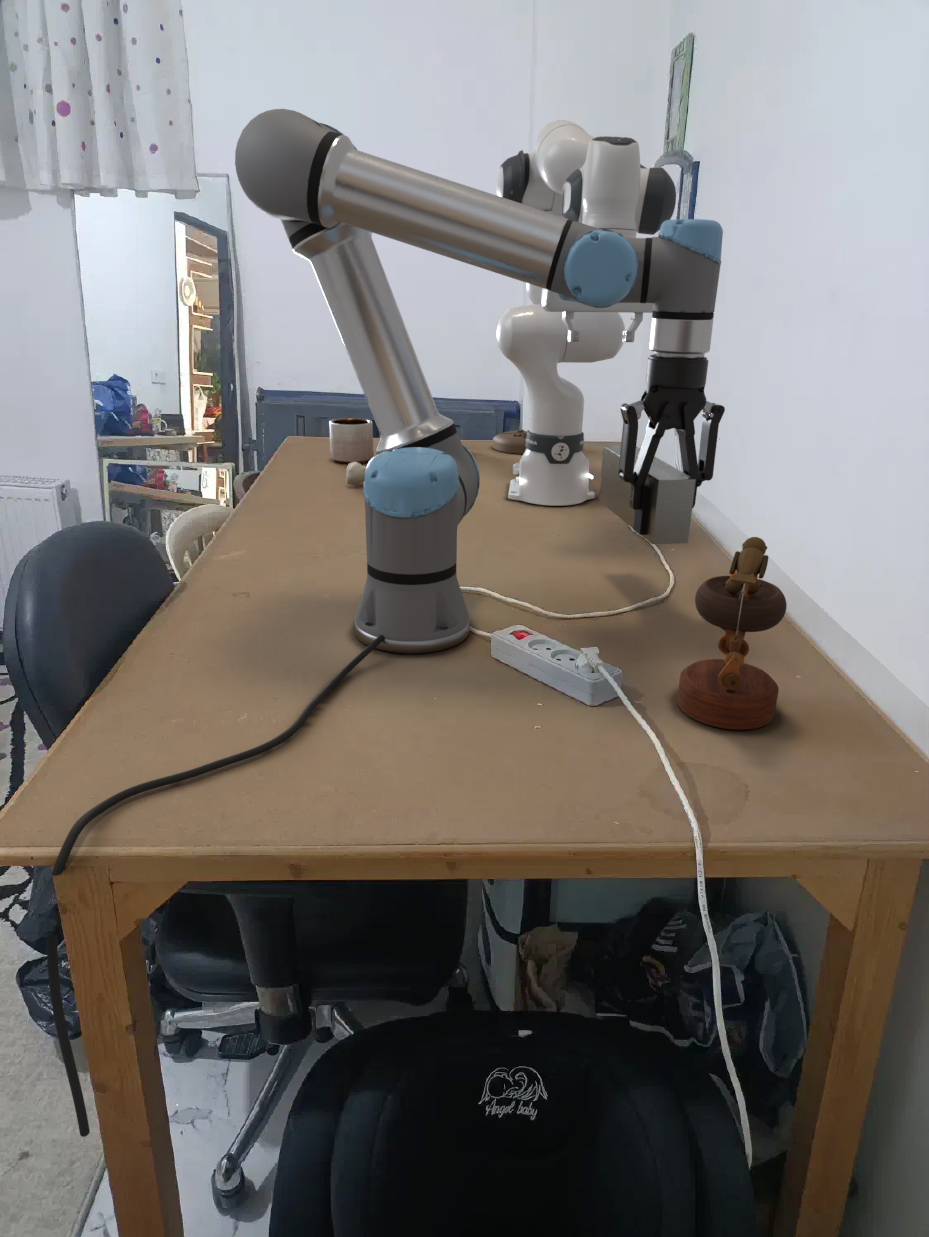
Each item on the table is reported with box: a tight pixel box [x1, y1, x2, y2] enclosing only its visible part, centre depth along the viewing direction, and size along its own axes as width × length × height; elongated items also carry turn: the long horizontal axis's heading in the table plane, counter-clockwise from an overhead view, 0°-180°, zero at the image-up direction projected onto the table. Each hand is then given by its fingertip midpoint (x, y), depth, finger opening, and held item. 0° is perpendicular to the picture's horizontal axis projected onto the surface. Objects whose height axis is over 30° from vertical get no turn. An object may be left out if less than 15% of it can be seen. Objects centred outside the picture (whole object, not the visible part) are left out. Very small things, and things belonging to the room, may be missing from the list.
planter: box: [328, 417, 375, 464], centre depth 212 cm, size 11×11×10 cm
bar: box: [598, 445, 696, 545], centre depth 121 cm, size 23×5×9 cm, turn 9°
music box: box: [676, 536, 788, 731], centre depth 91 cm, size 15×11×20 cm
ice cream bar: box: [492, 428, 529, 455], centre depth 225 cm, size 21×28×4 cm
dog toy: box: [345, 462, 366, 486], centre depth 189 cm, size 20×6×5 cm, turn 99°
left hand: (659, 531), depth 116 cm, fingers closed on bar, 5 cm apart
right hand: (600, 342), depth 140 cm, fingers open, 8 cm apart
